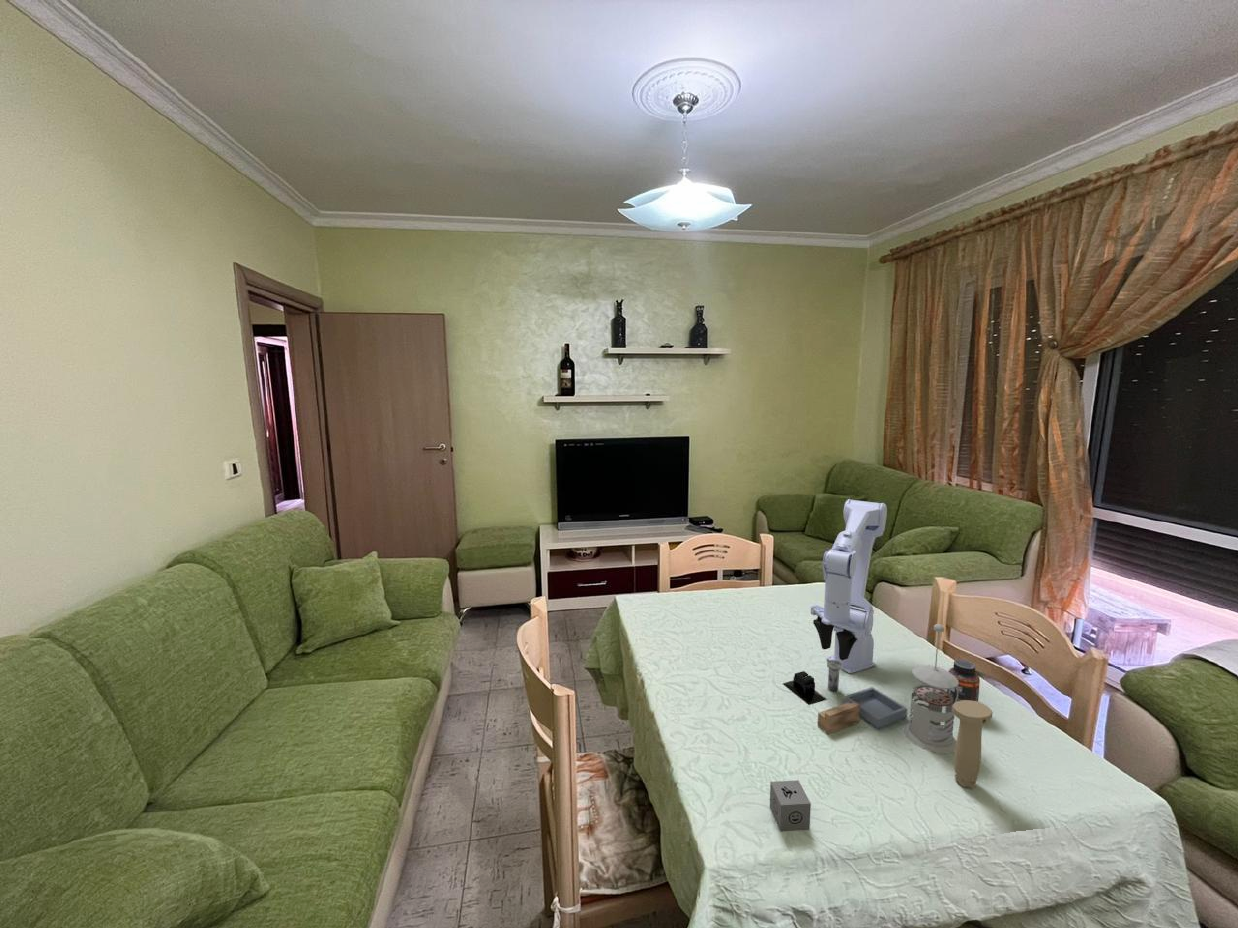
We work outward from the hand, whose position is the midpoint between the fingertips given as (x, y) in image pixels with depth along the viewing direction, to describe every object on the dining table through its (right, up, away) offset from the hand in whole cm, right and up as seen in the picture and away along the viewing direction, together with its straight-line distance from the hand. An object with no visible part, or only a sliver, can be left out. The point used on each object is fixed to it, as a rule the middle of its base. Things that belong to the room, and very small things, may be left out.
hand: (834, 653), depth 121 cm
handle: (+12, -14, -28) cm, 33 cm away
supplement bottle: (+26, -10, -7) cm, 29 cm away
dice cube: (-23, -15, -35) cm, 45 cm away
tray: (+6, -11, -8) cm, 14 cm away
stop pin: (0, -9, +1) cm, 9 cm away
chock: (-4, -11, -11) cm, 16 cm away
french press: (+14, -12, -15) cm, 24 cm away
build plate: (-7, -10, +1) cm, 13 cm away
